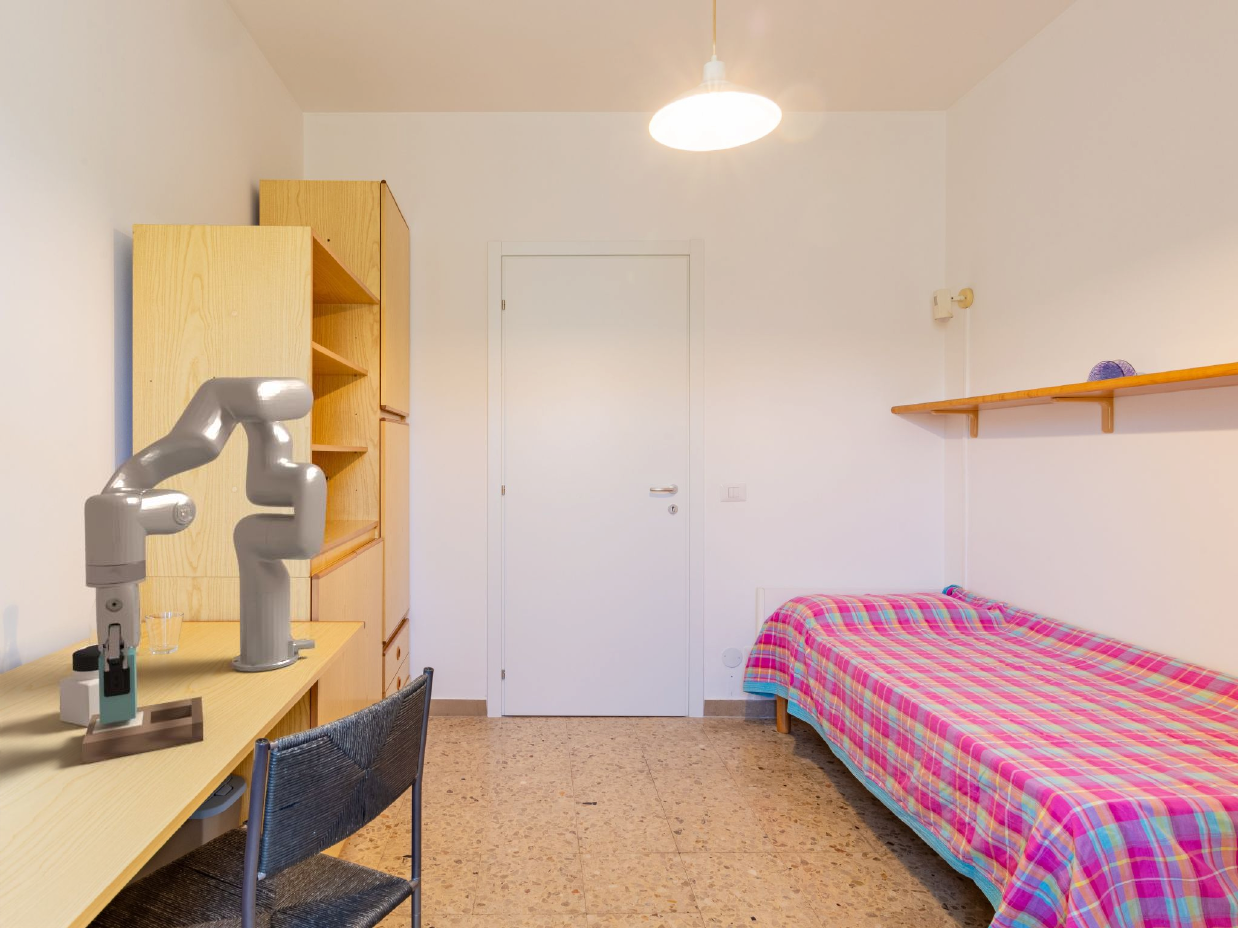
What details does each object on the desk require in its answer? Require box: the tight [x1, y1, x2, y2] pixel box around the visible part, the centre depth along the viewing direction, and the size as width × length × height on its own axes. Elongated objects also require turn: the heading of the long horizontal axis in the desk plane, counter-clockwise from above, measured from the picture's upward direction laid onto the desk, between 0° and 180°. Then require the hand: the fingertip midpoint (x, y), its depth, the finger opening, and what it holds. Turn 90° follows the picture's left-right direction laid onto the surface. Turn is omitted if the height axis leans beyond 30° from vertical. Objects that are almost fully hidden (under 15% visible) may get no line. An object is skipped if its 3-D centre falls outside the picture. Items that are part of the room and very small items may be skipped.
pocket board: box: [81, 696, 204, 765], centre depth 108 cm, size 15×12×3 cm
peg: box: [99, 647, 138, 724], centre depth 106 cm, size 4×4×10 cm
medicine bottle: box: [58, 643, 101, 728], centre depth 115 cm, size 7×7×12 cm
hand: (118, 688), depth 106 cm, fingers closed on peg, 4 cm apart
